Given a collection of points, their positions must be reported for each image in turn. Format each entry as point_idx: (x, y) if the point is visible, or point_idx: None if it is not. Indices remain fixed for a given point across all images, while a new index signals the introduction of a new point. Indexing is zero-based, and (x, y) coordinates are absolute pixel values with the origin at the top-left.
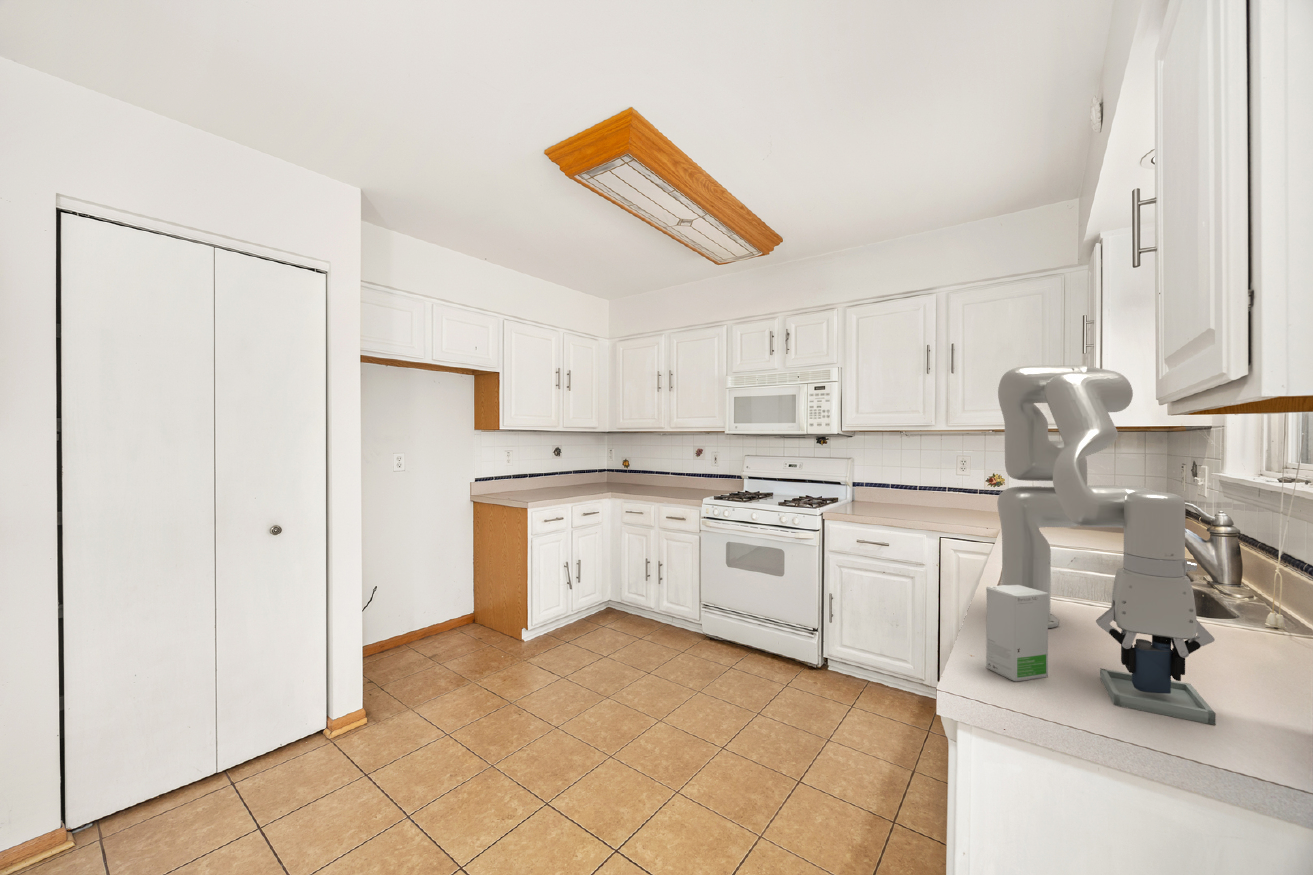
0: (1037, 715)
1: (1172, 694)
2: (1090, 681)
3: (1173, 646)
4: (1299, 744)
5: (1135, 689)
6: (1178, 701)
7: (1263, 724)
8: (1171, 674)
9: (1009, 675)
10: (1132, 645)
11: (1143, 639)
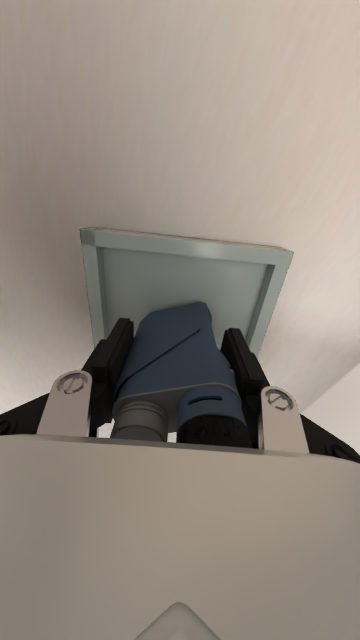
0: None
1: (222, 301)
2: (71, 263)
3: (258, 411)
4: (325, 389)
5: (152, 304)
6: (217, 333)
7: (327, 345)
8: (221, 350)
9: None
10: (104, 422)
11: (144, 425)
